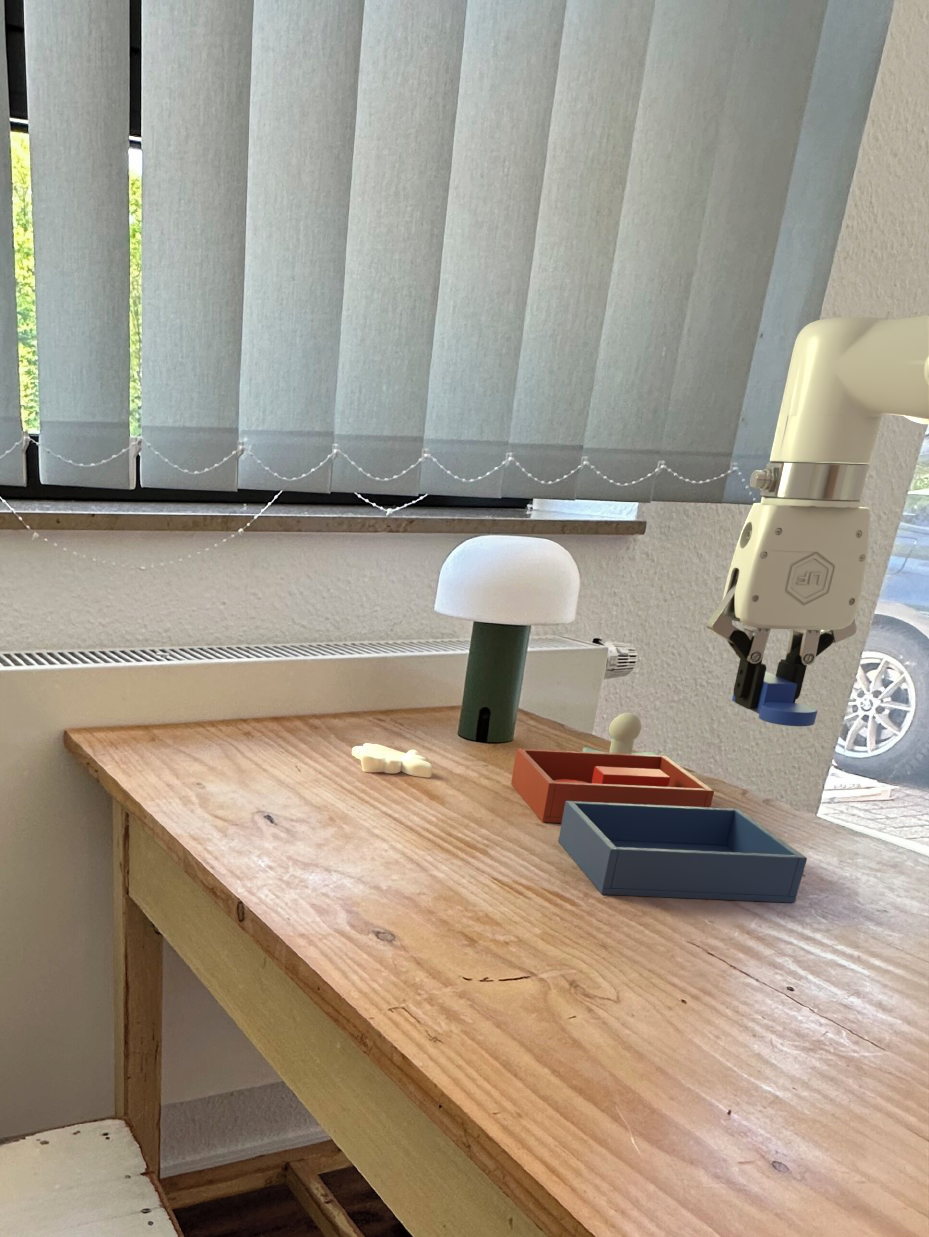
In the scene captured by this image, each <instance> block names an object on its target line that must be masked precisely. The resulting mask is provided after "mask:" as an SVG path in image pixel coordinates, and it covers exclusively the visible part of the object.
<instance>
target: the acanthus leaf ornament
mask: <svg viewBox="0 0 929 1237" xmlns="http://www.w3.org/2000/svg"><path fill="white" fill-rule="evenodd" d="M420 754H421V753H419V751H418V750H416V749H410V750H408V751H407V752H403V751H399V750H397V749H395V748H394V749H393V748H391V747H388V746H385V745H381V744H377V743H369V742H366V743H363V745H356V746H353V747H352V748H351V756H352V757H355V759H356V760H359V761H360V764H361V769H362V771H363V772H365V773H385V774H398V773H400V772H402V773H404V774H407V775H409V776H413V777H419V778H427V779H430V778H431V776H432V774H433V770H434V767H433V765H432V764H431V763H430V762H428V761H427V758H426V757H424V756H422V755H420Z"/></svg>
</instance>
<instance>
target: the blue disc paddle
mask: <svg viewBox="0 0 929 1237" xmlns="http://www.w3.org/2000/svg"><path fill="white" fill-rule="evenodd" d="M796 687H797V684H795V683H793V682H791V681H788V680H786V679H783V678H781V677H778V676H776V674H773V673H771V672H768V671H766V673H765V677H764V681H763V682H762V687H761V691H760V695H759V700H758V704H757V707H756V708H755V709H749V710H750V711H753V712H754V713H756V714H758V719H760V720H761V721H763V722H766V723H769V724H775V725H779V726H787V727H811V726H814V725H815V722H816V719H817V715H818V709H817V708H816V707H813V706H811V705H807V704H804V703H803V704H802V703H796V702H795V703H793V700H794V695H795V691H796ZM731 701H732V702H734V703H736V702H735V696H734V692H733V694H732V697H731Z"/></svg>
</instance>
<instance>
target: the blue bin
mask: <svg viewBox="0 0 929 1237" xmlns="http://www.w3.org/2000/svg"><path fill="white" fill-rule="evenodd" d="M559 830H560V831H559V835H558V840H557V843H559V845H560V846H561V847H562V848H563V849H564V850H565V852H566V853H567V854H568V855H569V857H570V858H571V859H572V860H573V861H574V863H575V864H576V865H577V866H578V867H579V869H580V870H581V872H583V874H584V875H585V876H586V877H587V879H588V880H589V881H590V883H591V884H592V885H593V886H594V888H596V889H597V891H598V892H599V894H600V895H606V896H607V895H608V896H631V897H652V898H673V899H675V898H676V899H697V900H723V901H742V902H743V901H745V902H766V903H787V904H788V903H791V904H793V903H796V900H797V895H798V892H799V888H800V885H801V882H802V877H803V874H804V872H805V867H806V864H807V860H808V858H807V857H806V856H805V855H803V853H800V851H798V850H797V849H795V848H794V847H792V846H791V845H790V844H788V843H787V842H785V841H784V840H783V839H781V838H780V837H779V836H777V835H776V834H774V833H773V832H772V831H770V830H769V829H768V828H766V827H765V826H764V825H762V824H761V823H760V822H758V821H756V820H755V819H754V818H752V817H751V816H750V815H748V814H747V813H746V812H744V811H743V810H741V809H740V808H730V807H729V808H728V807H727V808H726V807H710V808H708V807H687V806H665V805H644V804H622V803H600V802H579V801H566V802H565V807H564V812H563V818H562V823H560V829H559Z"/></svg>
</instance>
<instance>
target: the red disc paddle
mask: <svg viewBox="0 0 929 1237" xmlns="http://www.w3.org/2000/svg"><path fill="white" fill-rule="evenodd" d="M553 781H554V782H572V783H586V782H582V781H577V780H567V779H561V780H553ZM669 781H670V777H669V776H668V775H666V774H665V773H664V772H662V771H661V770H660V769H642V768H621V767H599V766H595V768H594V773H593V778H592V783H594V784H615V785H636V786H658V787H668V786H669Z"/></svg>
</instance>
